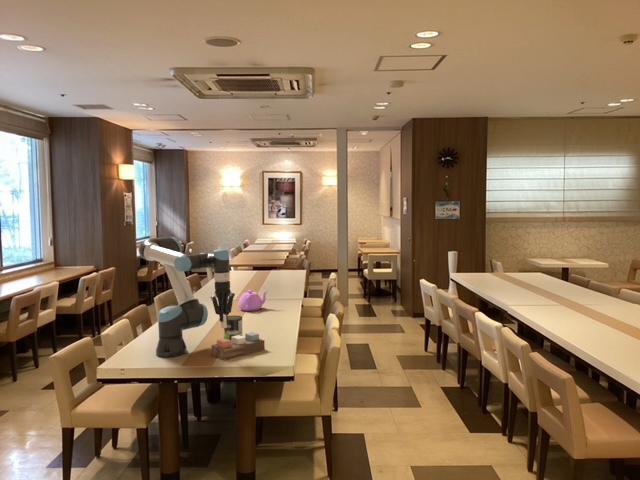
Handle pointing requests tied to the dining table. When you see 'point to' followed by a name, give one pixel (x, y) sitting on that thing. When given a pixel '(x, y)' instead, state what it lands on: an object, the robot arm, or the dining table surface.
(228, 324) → the coffee can
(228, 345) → the terracotta key
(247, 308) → the teapot
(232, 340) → the ivory key
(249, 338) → the slate key
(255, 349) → the key console
